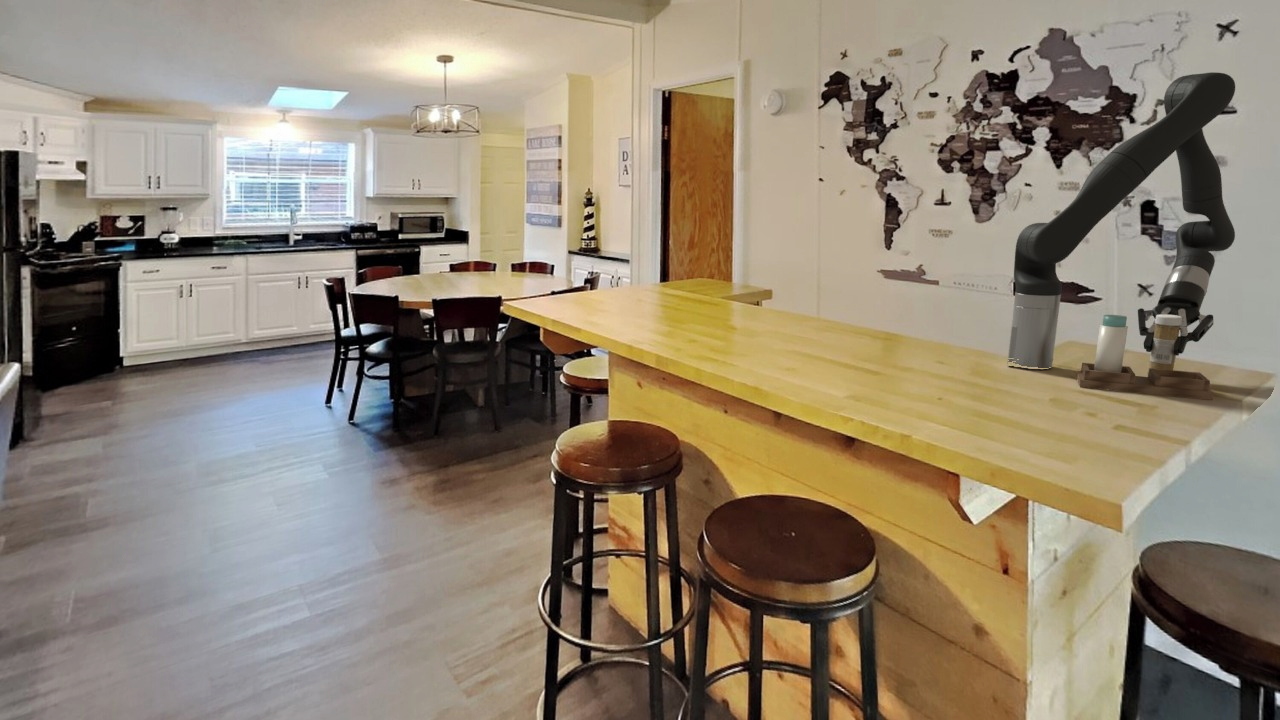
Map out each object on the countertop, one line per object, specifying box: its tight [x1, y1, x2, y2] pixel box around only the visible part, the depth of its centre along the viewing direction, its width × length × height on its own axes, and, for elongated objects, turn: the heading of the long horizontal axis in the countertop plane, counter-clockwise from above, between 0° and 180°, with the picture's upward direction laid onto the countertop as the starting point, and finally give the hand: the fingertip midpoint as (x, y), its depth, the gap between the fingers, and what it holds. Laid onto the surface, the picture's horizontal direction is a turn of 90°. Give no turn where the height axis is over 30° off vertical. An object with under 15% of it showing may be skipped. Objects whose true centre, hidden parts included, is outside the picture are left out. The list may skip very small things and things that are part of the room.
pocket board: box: [1075, 362, 1214, 401], centre depth 145 cm, size 22×10×4 cm, turn 62°
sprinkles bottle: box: [1146, 314, 1182, 375], centre depth 151 cm, size 5×5×14 cm
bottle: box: [1094, 314, 1129, 373], centre depth 147 cm, size 5×5×13 cm
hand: (1162, 351), depth 150 cm, fingers closed on sprinkles bottle, 4 cm apart
